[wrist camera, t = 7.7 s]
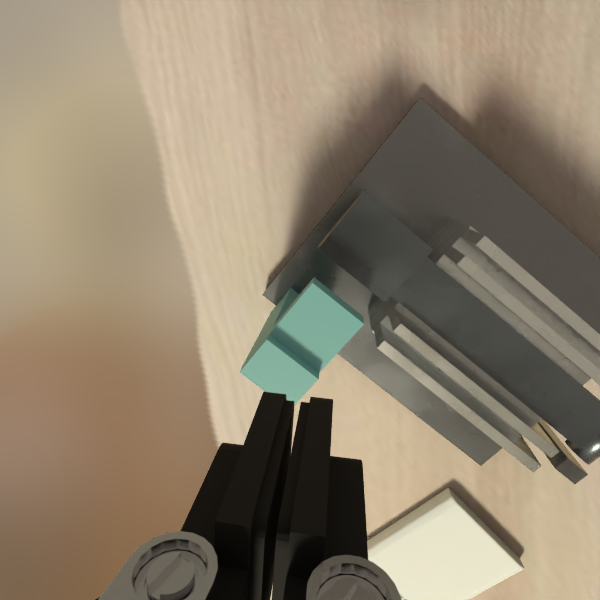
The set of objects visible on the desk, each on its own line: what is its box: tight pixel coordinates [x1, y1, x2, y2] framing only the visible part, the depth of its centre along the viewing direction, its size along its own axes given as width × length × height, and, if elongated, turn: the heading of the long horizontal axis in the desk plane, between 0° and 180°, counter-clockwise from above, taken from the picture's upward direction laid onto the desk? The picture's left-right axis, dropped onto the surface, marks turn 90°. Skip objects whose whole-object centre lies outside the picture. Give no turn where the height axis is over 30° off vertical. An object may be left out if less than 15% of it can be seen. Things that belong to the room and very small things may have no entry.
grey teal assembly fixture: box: [263, 98, 600, 484], centre depth 22 cm, size 18×14×7 cm
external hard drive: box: [367, 488, 524, 600], centre depth 32 cm, size 2×8×12 cm
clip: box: [240, 277, 364, 405], centre depth 22 cm, size 3×5×8 cm, turn 142°
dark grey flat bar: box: [318, 191, 600, 464], centre depth 20 cm, size 18×3×1 cm, turn 52°
